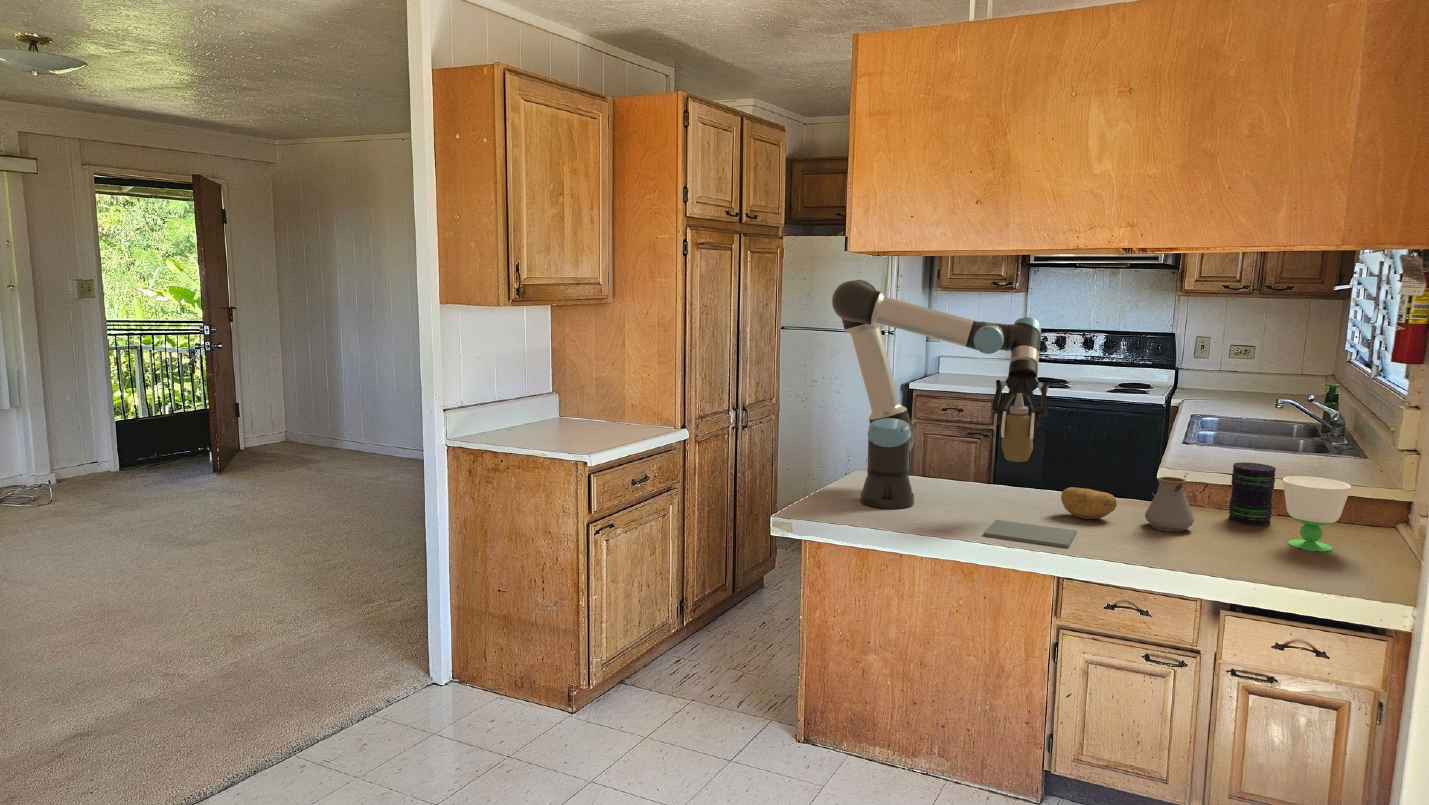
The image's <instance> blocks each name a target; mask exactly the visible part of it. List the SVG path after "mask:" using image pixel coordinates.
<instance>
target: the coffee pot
mask: <svg viewBox="0 0 1429 805" xmlns="http://www.w3.org/2000/svg"><path fill="white" fill-rule="evenodd" d="M1156 480H1157V481H1158V483H1159V485H1160V486H1159V489H1158V490H1157V492H1156V494H1155V495H1154V497H1153V499H1152V500H1151V503H1150V504H1149V506H1148V507H1147V509H1146V511H1145V513H1144V518H1145V520H1146V521H1147V522H1148V523H1149V524H1150V525H1151V527H1152V528H1154V527H1155V528H1154V529H1156V528H1157V529H1156V530H1159V531H1163V530H1167V531H1166V532H1169V531H1176V532H1175V533H1178V532H1177V531H1182V532H1184V530H1185V531H1186V529H1189V528H1191V526H1192V525H1193V524H1194V522H1195V517H1194V514H1193V512H1192V509H1191V507H1190V504H1189V501H1188V498H1187V496H1186V493H1185V491H1186V488H1185V486H1184V485H1185V484H1186V483H1187V480H1186V479H1184V478H1181V477H1174V476H1160V477H1158V478H1156Z"/></svg>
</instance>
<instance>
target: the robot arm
mask: <svg viewBox="0 0 1429 805" xmlns="http://www.w3.org/2000/svg"><path fill="white" fill-rule="evenodd" d="M831 298H832V299H831V304H832V309H833V311H834V312H835V314H836V315H837V316H838V317H839V318H840V319H841V322H842V325H843V330H844V331H845V332H846V333H848V334H849V335H851V338H852V343H853V347H854V351H855V354H856V358H857V361H858V365H859V368H860V373H861V376H862V380H863V383H864V388H865V391H866V393H867V398H868V402H869V405H870V409H871V413H870V415H869V417H868V422H869V425H868V431H867V437H868V438H867V439H868V441H867V468H866V469H867V472H866V477H865V480H864V484H863V487H862V490H861V492H860V500H859V501H860V503H861V504H863V505H864V506H868V507H872V508H877V509H888V510H894V509H895V510H896V509H897V510H898V509H899V510H900V509H906V508H911V507H912V506H914V504H915V494H914V492H913V489H912V485H911V484H912V483H911V480H910V477H909V475H910V471H909V470H910V453H911V452H910V451H911V450H912V449H913V447H914V445H915V442H916V430H915V427H914V424H912V422H911V418H910V414H909V412H908V409H907V407H905V406H904V405H902V404H901V402H900V398H899V394H898V391H897V386H896V384H895V380H894V376H893V373H892V368H891V366H890V365H891V364H890V361H889V358H888V353H887V350H886V346H885V342H884V338H883V335H882V331H881V327H880V326H881V325H883V326H884V325H885V326H888V327H891V328H895V329H899V330H902V331H906V332H909V333H914V334H916V335H921V336H924V337H928V338H932V339H936V340H938V341H943V342H946V343H949V344H950V343H951V344H954V345H958V346H962V347H966V348H968V349H971V350H972V349H973V350H975V351H978V352H980V353H982V354H985V355H991V354H994V353H996V352H998V351H1006V352H1007V351H1008V352H1010V354H1009V355H1010V356H1009V357H1010V358H1009V367H1008V374H1007V375H1008V376H1007V378H1006V379H1005V380H1000V379H996V380H995V388H996V389H995V393H994V397H993V401H992V405H991V406H992V407H991V411H992V414H993V415H998V416H997V425H998V426H1001V428H1000V436H1001V437H1000V438H1002V437H1004V434H1005V420H1006V416H1007V410H1008V409H1009V408H1010V405H1011V403H1012V401H1013V399H1015V398H1016V396H1017V393H1022V396H1026V397H1027V400H1028V403H1029V405H1030V408H1031V410H1032V413H1031V416H1030V417H1031V427H1030V439H1033V440H1034V433H1035V432H1034V430H1035V428H1039V427H1040V426H1039V425H1040V419H1041V417H1042V418H1046V417H1047V416H1048V405H1047V401H1048V400H1047V399H1048V398H1047V393H1048V391H1049V383H1048V382H1047V381H1045V382H1039V380H1038V372H1039V360H1040V348H1041V338H1042V326H1041V323H1040V322H1039V321H1038V320H1037V319H1036V318H1033V317H1029V316H1024V317H1019V318H1017V319H1016V320H1015V321H1014V323H1013V324H1012V323H1011V324H1010V323H1009V324H1007V323H1000V322H999V323H998V322H989V321H987V322H986V321H977V320H974V319H969V318H967V317H963V316H959V315H954V314H951V313H947V312H943V311H939V310H936V309H932V308H928V307H925V306H921V305H917V304H913V303H910V302H906V301H902V300H899V299H894V298H892V297H887V296H886V295H884V293H883V292H882V291H880V290H877V289H876V288H875V286H874V285H873V284H871V283H870V282H868V281H865V280H863V279H855V280H848V281H844V282H842V283H841V284H839V285H838V286H837V287H836V289H835V290H834V292H833V294H832V297H831ZM1005 387H1007V389H1008V393H1007V394H1006V395H1005V398H1004V399H1003V401H1002V403H1001V404H1000V401H1001V397H1002V392H1003V390H1005ZM1037 388H1038V390H1039V391H1040V392H1041V395H1040V397H1041V398H1040V399H1041V409H1040V408H1039V405H1038V403H1037V400H1036V397H1035V394H1034V391H1035V390H1036V389H1037Z"/></svg>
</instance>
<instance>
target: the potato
mask: <svg viewBox="0 0 1429 805" xmlns="http://www.w3.org/2000/svg"><path fill="white" fill-rule="evenodd" d="M1060 498H1061V499H1060V500H1061V502H1062V505H1063V507H1064V509H1065V510H1066V511H1067V512H1068V513H1070V514H1071V515H1072V516H1075V517H1078V518H1080V519H1083V520H1093V519H1102V518H1104V517H1107V516H1108V515H1109V514H1111V513H1112V512H1114V511H1115V509H1116V508H1117V505H1118V503H1117V498H1116V497H1115V496H1114V495H1113V494H1111V493H1109V492H1104V491H1099V490H1095V489H1092V488H1091V489H1090V488H1082V487H1073V486H1072V487H1067V488H1065V489H1064V490H1062V492H1061V495H1060Z"/></svg>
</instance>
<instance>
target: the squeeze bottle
mask: <svg viewBox="0 0 1429 805" xmlns="http://www.w3.org/2000/svg"><path fill="white" fill-rule="evenodd" d="M1023 396H1024V395H1022V393H1017V395H1016V396H1015V401H1014V404H1013V405H1011V406H1010V405H1009V413H1008V414H1006V420H1005V434H1004V437H1001V438H1002V439H1001V450H1002V453H1003V457H1004V459H1005V460H1006V461H1008V462H1014V463H1022V462H1028V461H1029V459H1030V457H1031V455H1032V452H1033V449H1034V441H1033V440H1034V438H1033V439H1030V427H1031V416H1030V415H1029V407H1028V406H1026V405H1025V403H1024V397H1023Z"/></svg>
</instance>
